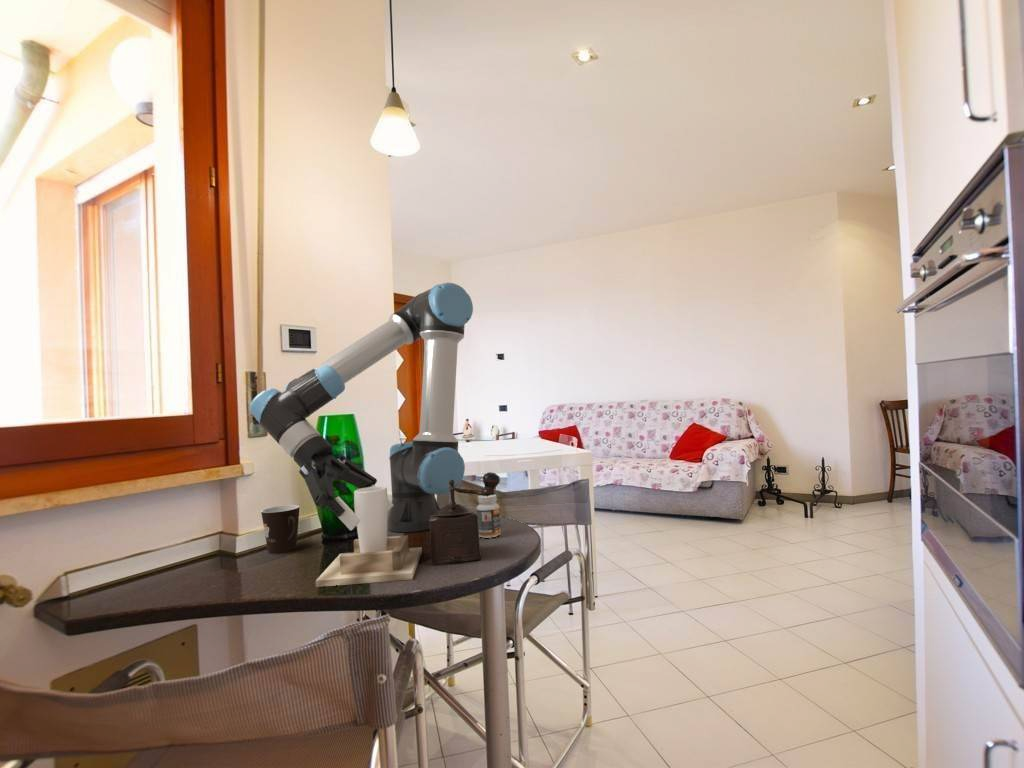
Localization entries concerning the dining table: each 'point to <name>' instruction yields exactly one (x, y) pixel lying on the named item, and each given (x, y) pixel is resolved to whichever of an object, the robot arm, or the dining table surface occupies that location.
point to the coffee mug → (281, 528)
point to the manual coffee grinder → (458, 527)
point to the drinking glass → (372, 518)
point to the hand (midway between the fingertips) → (373, 517)
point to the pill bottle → (488, 516)
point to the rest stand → (373, 564)
